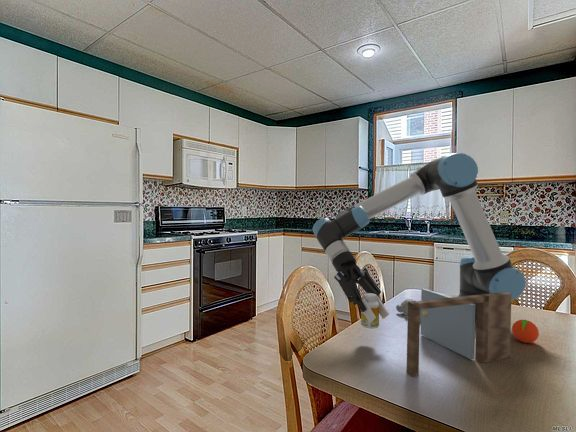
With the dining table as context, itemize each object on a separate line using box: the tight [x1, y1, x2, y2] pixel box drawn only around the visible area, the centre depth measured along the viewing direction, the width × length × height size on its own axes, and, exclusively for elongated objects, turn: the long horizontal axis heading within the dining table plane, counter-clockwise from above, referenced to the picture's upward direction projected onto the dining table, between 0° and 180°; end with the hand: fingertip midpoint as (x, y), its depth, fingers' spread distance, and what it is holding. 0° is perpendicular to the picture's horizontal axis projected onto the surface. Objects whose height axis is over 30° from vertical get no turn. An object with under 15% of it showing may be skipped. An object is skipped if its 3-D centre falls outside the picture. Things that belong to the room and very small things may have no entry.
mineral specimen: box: [395, 298, 421, 322], centre depth 124 cm, size 16×7×7 cm, turn 24°
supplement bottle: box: [360, 293, 380, 329], centre depth 100 cm, size 5×5×10 cm
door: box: [420, 288, 476, 360], centre depth 98 cm, size 19×3×15 cm, turn 20°
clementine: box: [511, 319, 540, 344], centre depth 102 cm, size 8×7×7 cm
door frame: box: [405, 292, 512, 378], centre depth 87 cm, size 34×2×18 cm, turn 110°
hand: (379, 318), depth 97 cm, fingers closed on supplement bottle, 5 cm apart
